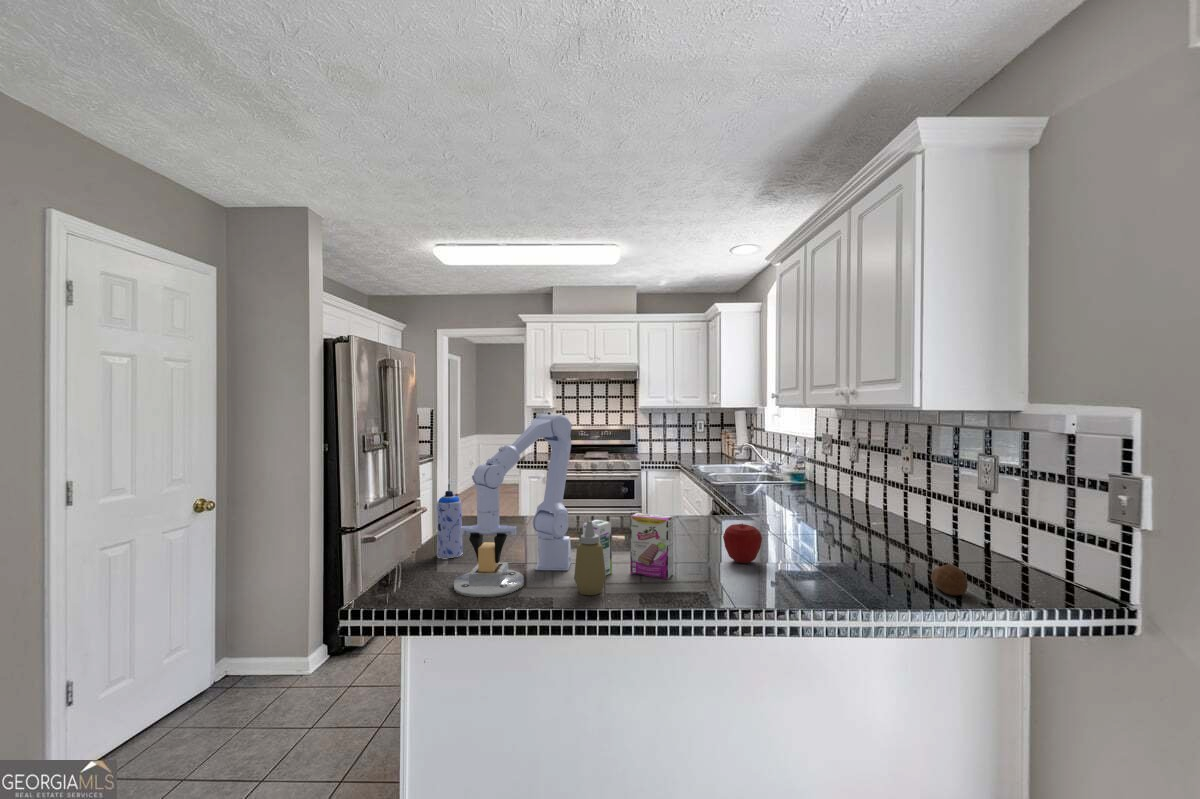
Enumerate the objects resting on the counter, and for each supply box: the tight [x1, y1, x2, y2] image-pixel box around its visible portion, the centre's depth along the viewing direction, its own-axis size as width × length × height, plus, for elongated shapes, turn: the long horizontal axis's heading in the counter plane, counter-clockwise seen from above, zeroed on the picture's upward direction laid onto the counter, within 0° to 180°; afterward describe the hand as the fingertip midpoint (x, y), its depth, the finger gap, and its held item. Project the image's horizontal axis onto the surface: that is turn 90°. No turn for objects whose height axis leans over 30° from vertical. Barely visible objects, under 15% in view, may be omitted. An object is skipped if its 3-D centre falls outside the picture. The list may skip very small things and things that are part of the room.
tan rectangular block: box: [477, 541, 500, 572], centre depth 151 cm, size 4×6×6 cm, turn 177°
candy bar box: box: [629, 512, 674, 580], centre depth 158 cm, size 11×5×16 cm, turn 65°
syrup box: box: [582, 519, 613, 576], centre depth 159 cm, size 6×6×14 cm
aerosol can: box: [436, 490, 464, 559], centre depth 178 cm, size 8×8×20 cm
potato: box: [930, 564, 968, 597], centre depth 143 cm, size 7×10×7 cm
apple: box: [722, 522, 763, 564], centre depth 169 cm, size 11×11×12 cm
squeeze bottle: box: [573, 520, 607, 596], centre depth 145 cm, size 8×8×18 cm
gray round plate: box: [453, 561, 525, 598], centre depth 151 cm, size 18×18×4 cm
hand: (488, 561), depth 151 cm, fingers closed on tan rectangular block, 4 cm apart
